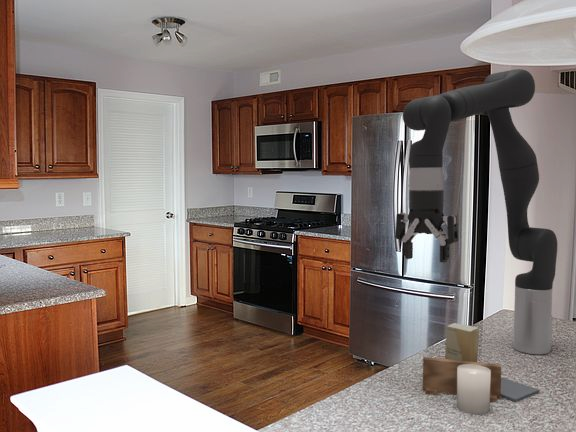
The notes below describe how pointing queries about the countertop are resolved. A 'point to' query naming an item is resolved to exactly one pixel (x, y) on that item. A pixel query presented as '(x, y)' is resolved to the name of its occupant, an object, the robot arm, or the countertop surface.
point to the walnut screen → (455, 376)
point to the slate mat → (516, 390)
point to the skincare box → (462, 342)
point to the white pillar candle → (473, 389)
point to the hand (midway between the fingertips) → (425, 260)
